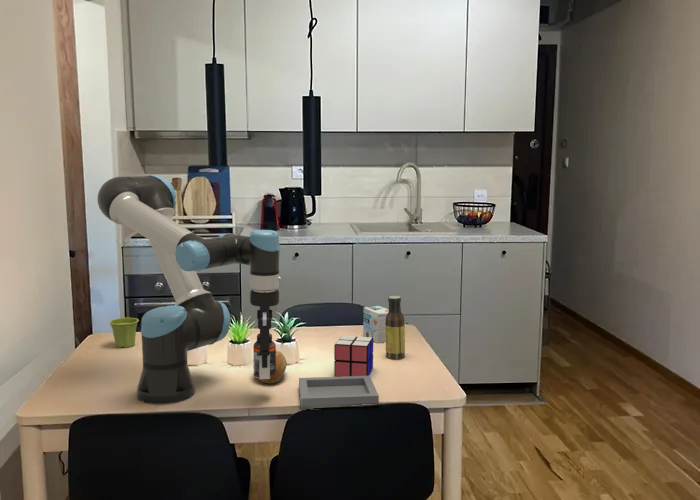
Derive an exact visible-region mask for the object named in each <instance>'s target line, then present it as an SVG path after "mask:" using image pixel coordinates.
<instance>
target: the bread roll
mask: <svg viewBox="0 0 700 500" xmlns="http://www.w3.org/2000/svg"><path fill="white" fill-rule="evenodd" d="M287 366H288V363H287V360H286V356H285V355H284V353H282V351H278V350H276V375H275V376H274V377H272V378H270V379H259V380H260V381H262V382H264V383H266V384H274V383H277V382H279V380H280V379H281V378H282V377H283V376H284V374H285V371H286V369H287Z"/></svg>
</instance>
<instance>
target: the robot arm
mask: <svg viewBox="0 0 700 500" xmlns="http://www.w3.org/2000/svg"><path fill="white" fill-rule="evenodd" d="M96 198H97V204H98V208H99V210H100V211H101V213H102V214H103V215H104V216H105V217H106V218H107V219H109V220H110V221H111V222H113V223H114V224H117V225H125V226H127V227H128V228H130V229H131V230H132V231H134V232H136V233H138V234H140V235H141V236H142V237H144V238H146V239H147V240H148V241H149V243H150V245H151V248H152V251H153V252H154V255H155V257H156V259H157V262H158V264H159V267H160V268H161V271H162V274H163V275H164V278H165V279H166V282H167V285H168V287H169V289H170V291H171V294H172V297H173V298H174V301H175V302H174V305H170V304H169V305H166V306H158V307H155V308H152V309H150V310H148V311H146V312H145V313H144V314H143V316H142V317H141V328H140V334H141V351H142V352H141V353H142V371H141V373H140V378H139V381H138V385H137V389H136V393H137V394H136V397H137V399H138V400H139V401H141V402H144V403H146V404H156V405H159V404H160V405H164V404H165V405H166V404H171V403H178V402H182V401H185V400H187V399H189V398H191V397H192V396H194V394H195V393H196V389H195V387H196V386H195V385H196V384H195V381H194V379H193V378H194V377H193V376H192V373H191V371H190V368H189V365H188V352H189V351H193V350H195V349H199V348H202V347H205V346H210V345H214V344H215V343H218V342H220V341H222V340H223V339H225V338H226V336H227V335H228V333H229V331H230V327H231V315H230V312H229V309H228V307H227V305H226V304H225V303H222V301H220V300H215V298H214V296H213V293H212V292H211V291H208V290H206V289H204V287H203V284H202V282H201V280H200V277H199V276H198V274H197V273H198V272H200V271H202V270H209V269H211V268H216V267H223V266H229V265H233V264H234V265H235V264H236V265H237V264H238V265H240V264H241V265H247V266H249V270H250V271H249V288H250V289H251V290H250V293H249V294H250V295H249V296H250V297H249V298H250V299H249V300H250V301H249V302H250V303H249V304H250V305H251V306H254V307H259V309H257V311H256V312H257V313H256V318H257V329H259V334H260V352H259V353H257V356H259V378H258V379H259V380H260V379H270V351H269V333H270V329H272V319H273V309H271V307H274V306H277V305H279V303H280V291H279V288H280V281H282V277H281V276H280V250H281V246H280V236H279V233H278V231H276V230H274V229H273V230H272V229H255V230H252V231H251V232H250V233H249V236H248V235H241V234H235V233H221V234H220V235H219V236H217V237H211V238H203V237H202V236H200V235H198V234H196V233H194V232H192V231H191V230H189V229H187V228H186V227H184V226H182V225H181V224H179V223H177V221H174V219H173V217H174V215H175V213H176V212H175V211H176V210H175V208H176V204H177V200H176V198H177V193H176V191H175V188H174V186H173V184H172V183H171V182H170V181H169V180H168V179H167V178H165V177H162V176H159V175H152V174H150V175H149V174H147V175H142V176H140V175H139V176H135V175H134V176H133V175H132V176H115V177H112V178H110V179H108V180H107V181H105V182H104V183H103V184H102V185H101V186H100V188H99V191H98V193H97V197H96Z"/></svg>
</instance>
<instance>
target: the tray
mask: <svg viewBox="0 0 700 500" xmlns="http://www.w3.org/2000/svg"><path fill="white" fill-rule="evenodd" d="M298 393H299V400H300V401H299V402H300V407H301V408H300V409H301V411H303V410H306V409H310V410H314V409H313V408H319V407H332V406H351V405H362V404H379V400H380V399H379V397H380V395H379V393H378V391H377V389H376V386H375V385H374V382H373V380H372V378H371V376H370V375H369V376H342V377H335V376H319V377H318V376H317V377H316V376H313V377H298Z"/></svg>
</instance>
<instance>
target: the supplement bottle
mask: <svg viewBox="0 0 700 500" xmlns="http://www.w3.org/2000/svg"><path fill="white" fill-rule="evenodd" d="M276 347H277V345H276V343H275V342H274V341H273V335H272V333H270V332H269V351H270V378H272V377H274V376H275V375H276V351H277V348H276ZM252 350H253V356H252V357H253V367H252V368H253V376H254V377H255V378H257V379H259V356H257V353H259V352H260V333H258V334H257V335H256V341H255V342H254V343H253V349H252Z"/></svg>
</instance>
